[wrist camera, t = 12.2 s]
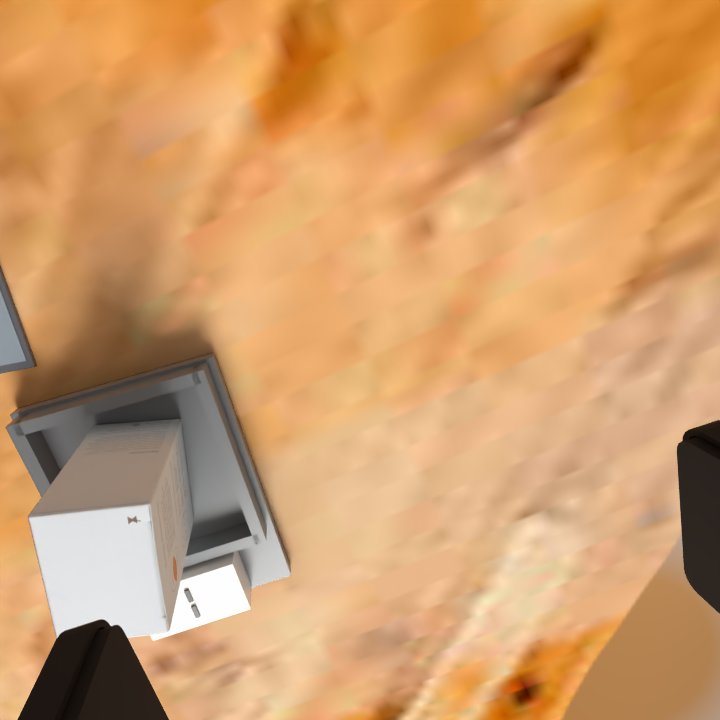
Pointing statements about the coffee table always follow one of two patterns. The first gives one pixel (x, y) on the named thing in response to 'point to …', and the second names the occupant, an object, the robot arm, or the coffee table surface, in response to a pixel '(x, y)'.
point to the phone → (12, 334)
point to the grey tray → (205, 473)
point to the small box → (117, 529)
